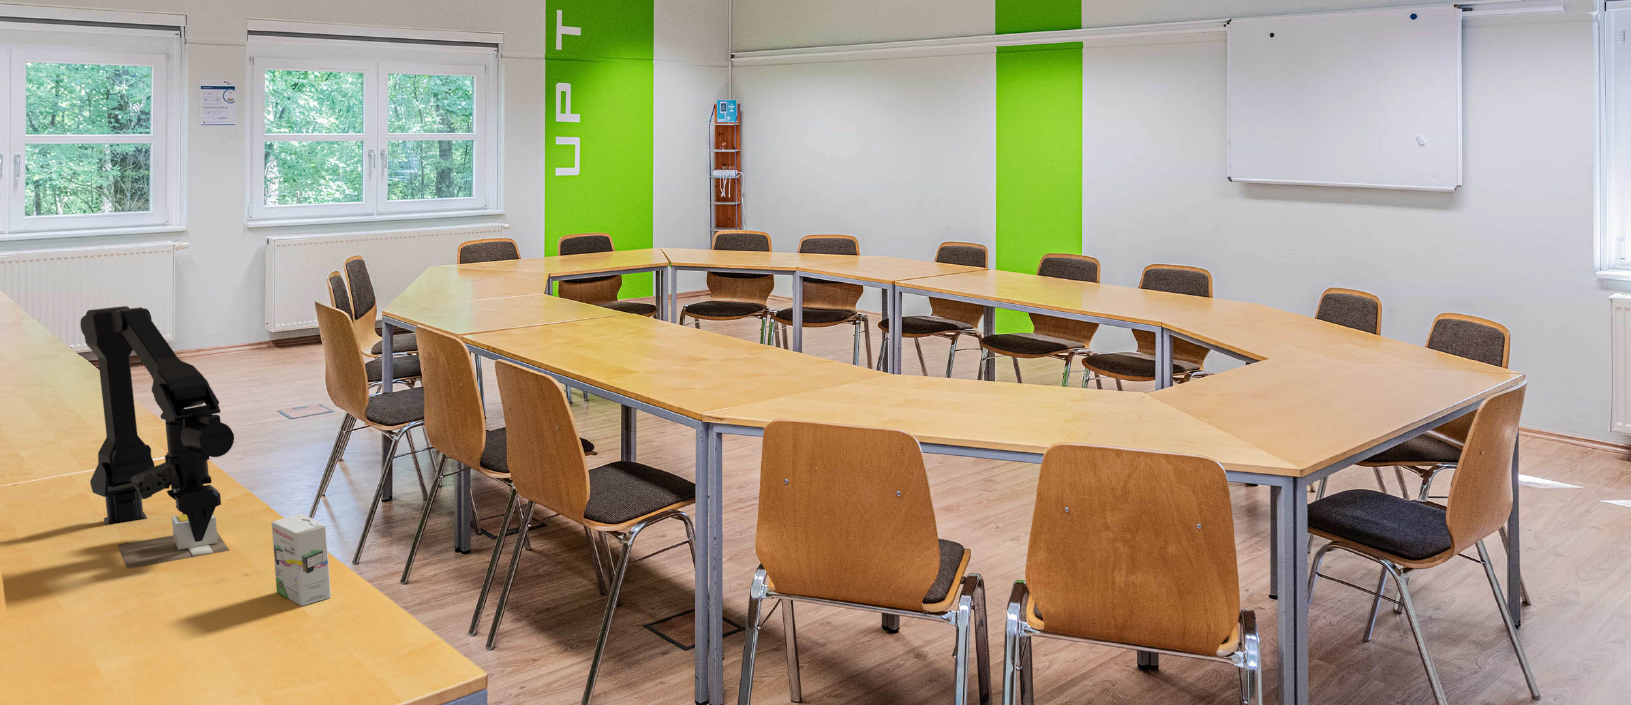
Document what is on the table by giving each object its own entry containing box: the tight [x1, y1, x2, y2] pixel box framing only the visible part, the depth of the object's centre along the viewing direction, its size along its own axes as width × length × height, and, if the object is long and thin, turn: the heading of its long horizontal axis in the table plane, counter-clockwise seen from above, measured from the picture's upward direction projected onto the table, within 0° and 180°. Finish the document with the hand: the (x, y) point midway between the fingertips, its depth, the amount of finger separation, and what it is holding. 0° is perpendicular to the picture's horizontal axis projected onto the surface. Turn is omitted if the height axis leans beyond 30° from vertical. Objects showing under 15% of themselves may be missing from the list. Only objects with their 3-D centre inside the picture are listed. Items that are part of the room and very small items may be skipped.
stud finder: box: [171, 514, 218, 550], centre depth 203 cm, size 5×6×5 cm
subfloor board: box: [117, 532, 230, 570], centre depth 202 cm, size 14×15×1 cm
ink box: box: [271, 513, 332, 607], centre depth 183 cm, size 8×5×12 cm, turn 49°
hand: (195, 536), depth 204 cm, fingers open, 6 cm apart
